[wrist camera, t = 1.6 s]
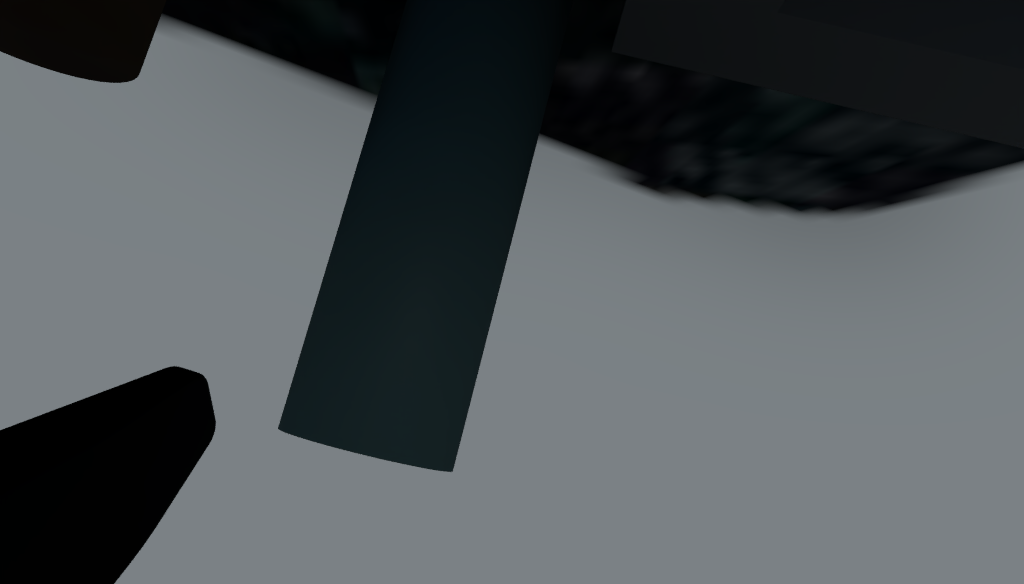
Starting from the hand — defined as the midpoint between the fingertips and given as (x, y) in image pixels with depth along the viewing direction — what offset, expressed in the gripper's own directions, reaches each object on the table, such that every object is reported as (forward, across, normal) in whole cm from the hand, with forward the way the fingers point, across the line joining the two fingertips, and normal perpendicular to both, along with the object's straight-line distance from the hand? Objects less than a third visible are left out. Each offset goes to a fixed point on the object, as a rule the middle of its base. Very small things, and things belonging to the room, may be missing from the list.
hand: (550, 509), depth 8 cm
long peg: (+16, +7, -2) cm, 18 cm away
